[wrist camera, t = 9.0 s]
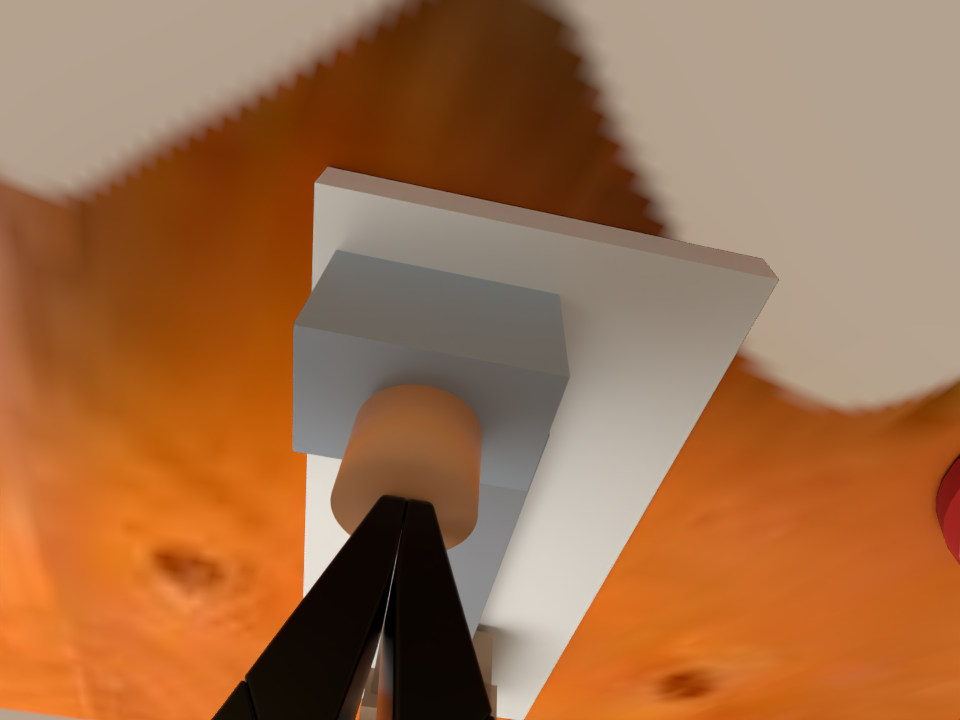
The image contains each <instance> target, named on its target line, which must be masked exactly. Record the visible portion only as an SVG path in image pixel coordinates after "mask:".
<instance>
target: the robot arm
mask: <svg viewBox="0 0 960 720" xmlns="http://www.w3.org/2000/svg"><path fill="white" fill-rule="evenodd" d="M406 503H407V505H406ZM405 508H406V510H405ZM404 514H405V515H404ZM403 519H404V521H403ZM402 524H403V526H402ZM401 530H402V531H401ZM400 535H401V536H400ZM399 540H400V542H399ZM398 546H399V547H398ZM397 551H398V552H397ZM396 556H397V557H396ZM395 561H396V563H395ZM394 567H395V568H394ZM393 572H394V573H393ZM392 577H393V579H392ZM391 582H392V584H391ZM390 588H391V589H390ZM389 593H390V595H389ZM388 598H389V600H388ZM387 603H388V605H387ZM386 609H387V610H386ZM385 614H386V616H385ZM384 619H385V622H384ZM383 624H384V628H383ZM382 628H383V635H382V645H381V657H380V671H379V686H378V700H377V714H376V720H495V717H494V716H493V715H491V713H492V707H491V704H490V700H489V697H488V693H487V690H486V686H485V683H484V679H483V676H482V672H481V669H480V665H479V662H478V658H477V655H476V651H475V648H474V644H473V641H472V637H471V634H470V630H469V627H468V623H467V620H466V617H465V613H464V610H463V606H462V603H461V599H460V596H459V592H458V589H457V585H456V582H455V578H454V575H453V571H452V568H451V564H450V561H449V557H448V554H447V550H446V547H445V543H444V540H443V536H442V533H441V529H440V526H439V522H438V519H437V515H436V512H435V508H434V506H433V504H432V503H431V502H428V501H422V500H416V499H410V500H408V501H406V499H405V498H403V497H398V496H392V495H382V496H381V497H380V498H379V499H378V500H377V502H376V503H375V504H374V506H373V507H372V508H371V509H370V511H369V512H368V513H367V515H366V516H365V517H364V519H363V520H362V521H361V523H360V524H359V525H358V527H357V528H356V529H355V531H354V532H353V533H352V535H351V536H350V537H349V539H348V540H347V541H346V543H345V544H344V545H343V547H342V548H341V549H340V551H339V552H338V553H337V555H336V556H335V557H334V559H333V560H332V561H331V563H330V564H329V565H328V567H327V568H326V569H325V570H324V572H323V573H322V574H321V576H320V577H319V578H318V580H317V581H316V582H315V584H314V585H313V586H312V588H311V589H310V590H309V592H308V593H307V594H306V596H305V597H304V598H303V600H302V601H301V602H300V604H299V605H298V606H297V608H296V609H295V610H294V612H293V613H292V614H291V616H290V617H289V618H288V620H287V621H286V622H285V624H284V625H283V626H282V628H281V629H280V630H279V631H278V633H277V634H276V635H275V637H274V638H273V639H272V641H271V642H270V643H269V645H268V646H267V647H266V649H265V650H264V651H263V653H262V654H261V655H260V657H259V658H258V659H257V661H256V662H255V663H254V665H253V666H252V667H251V669H250V670H249V671H248V673H247V674H246V675H245V681H241V682H240V683H239V684H238V685H237V687H236V688H235V689H234V691H233V692H232V693H231V695H230V696H229V697H228V699H227V700H226V701H225V703H224V704H223V705H222V707H221V708H220V709H219V710H218V712H217V713H216V714H215V715H214V717H213V718H212V719H211V720H355V718H356V714H357V711H358V708H359V705H360V702H361V698H362V695H363V692H364V689H365V686H366V682H367V679H368V676H369V673H370V670H371V666H372V663H373V660H374V657H375V654H376V650H377V647H378V643H379V640H380V636H381V633H382Z"/></svg>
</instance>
